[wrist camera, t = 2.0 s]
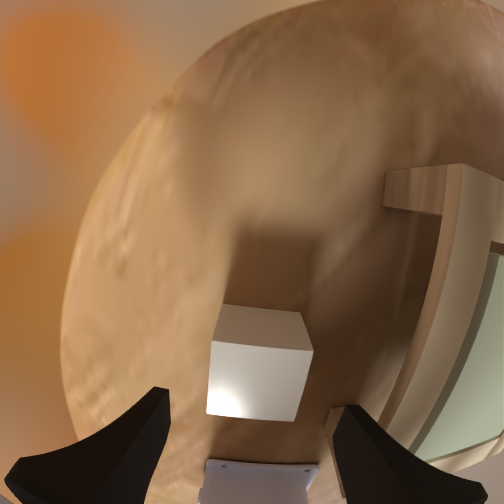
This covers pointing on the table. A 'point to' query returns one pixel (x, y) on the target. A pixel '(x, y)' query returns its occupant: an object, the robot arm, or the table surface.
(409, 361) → the stand
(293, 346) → the beige cube
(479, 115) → the table surface
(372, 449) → the robot arm
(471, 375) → the flap
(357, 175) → the table surface
